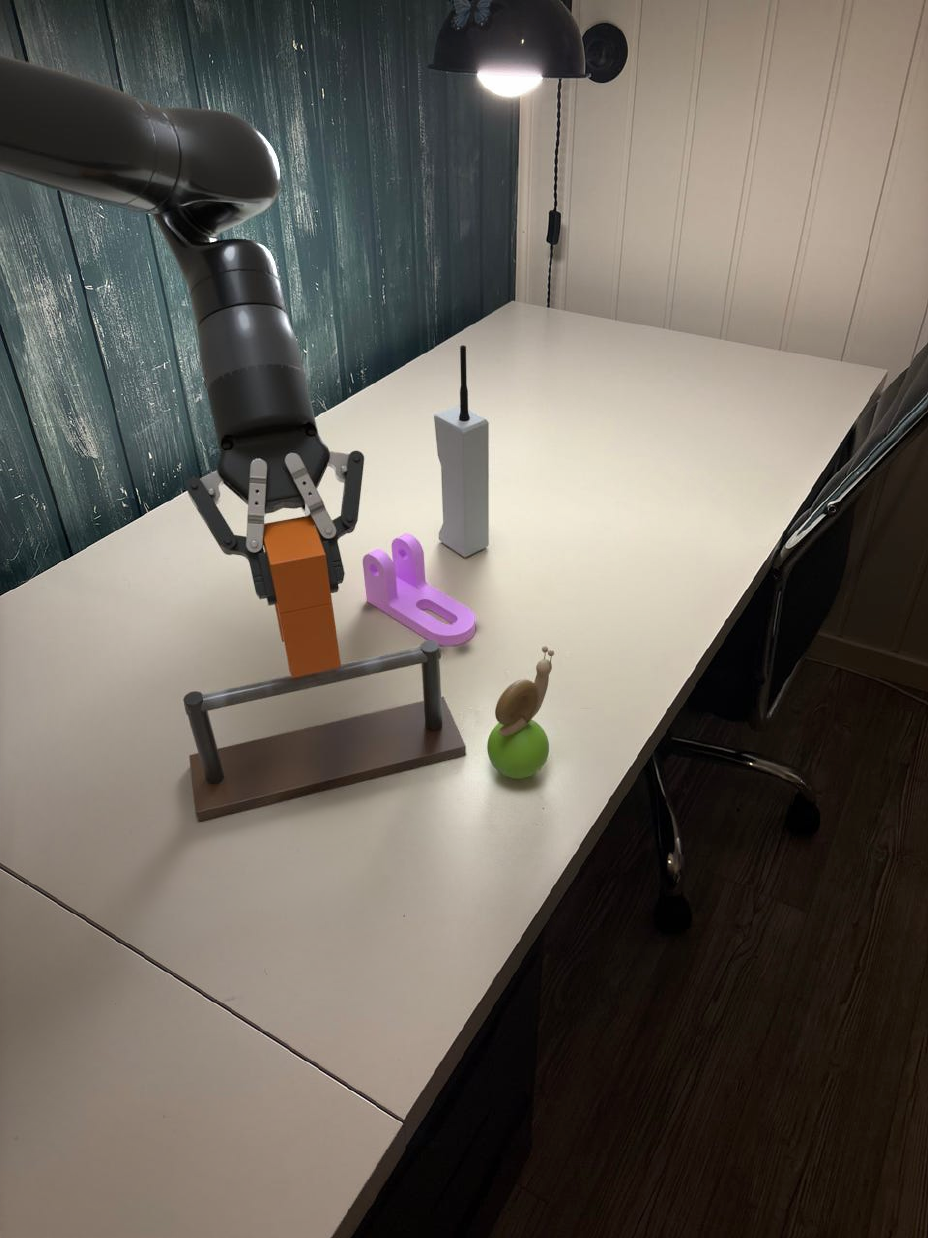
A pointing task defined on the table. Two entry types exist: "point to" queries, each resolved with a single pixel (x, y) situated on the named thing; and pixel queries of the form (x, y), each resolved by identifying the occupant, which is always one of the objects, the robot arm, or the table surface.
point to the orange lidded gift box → (302, 595)
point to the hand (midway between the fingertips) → (303, 596)
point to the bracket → (414, 594)
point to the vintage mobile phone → (463, 473)
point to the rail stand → (320, 739)
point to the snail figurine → (521, 726)
